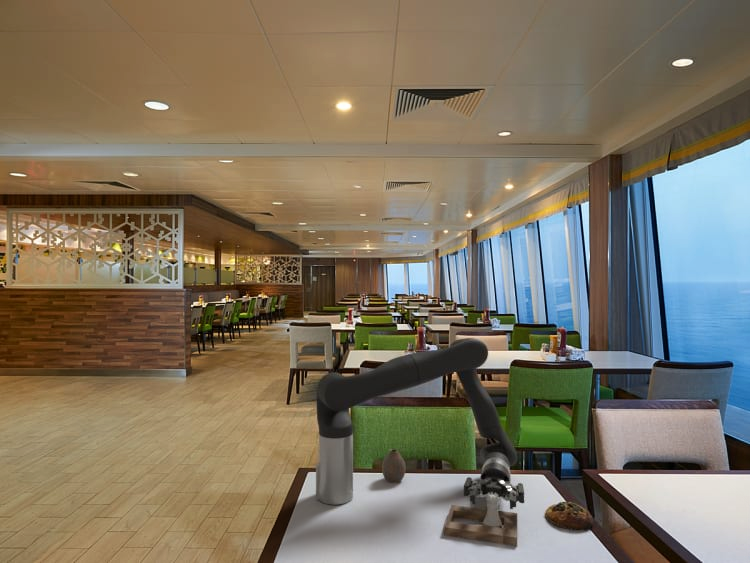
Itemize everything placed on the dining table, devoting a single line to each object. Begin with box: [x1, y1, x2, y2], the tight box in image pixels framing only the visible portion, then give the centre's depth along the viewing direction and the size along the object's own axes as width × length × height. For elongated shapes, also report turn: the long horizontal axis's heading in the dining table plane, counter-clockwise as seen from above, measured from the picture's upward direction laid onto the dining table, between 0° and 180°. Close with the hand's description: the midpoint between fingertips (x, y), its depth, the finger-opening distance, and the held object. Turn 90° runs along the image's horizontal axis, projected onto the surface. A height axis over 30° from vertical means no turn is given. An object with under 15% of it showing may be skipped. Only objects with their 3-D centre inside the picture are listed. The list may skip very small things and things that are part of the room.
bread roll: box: [544, 501, 594, 531], centre depth 115 cm, size 11×11×5 cm
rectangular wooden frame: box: [443, 504, 518, 547], centre depth 111 cm, size 16×12×2 cm
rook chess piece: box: [482, 492, 503, 528], centre depth 111 cm, size 4×4×8 cm
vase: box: [381, 448, 406, 484], centre depth 139 cm, size 7×7×9 cm
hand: (492, 502), depth 109 cm, fingers open, 8 cm apart
